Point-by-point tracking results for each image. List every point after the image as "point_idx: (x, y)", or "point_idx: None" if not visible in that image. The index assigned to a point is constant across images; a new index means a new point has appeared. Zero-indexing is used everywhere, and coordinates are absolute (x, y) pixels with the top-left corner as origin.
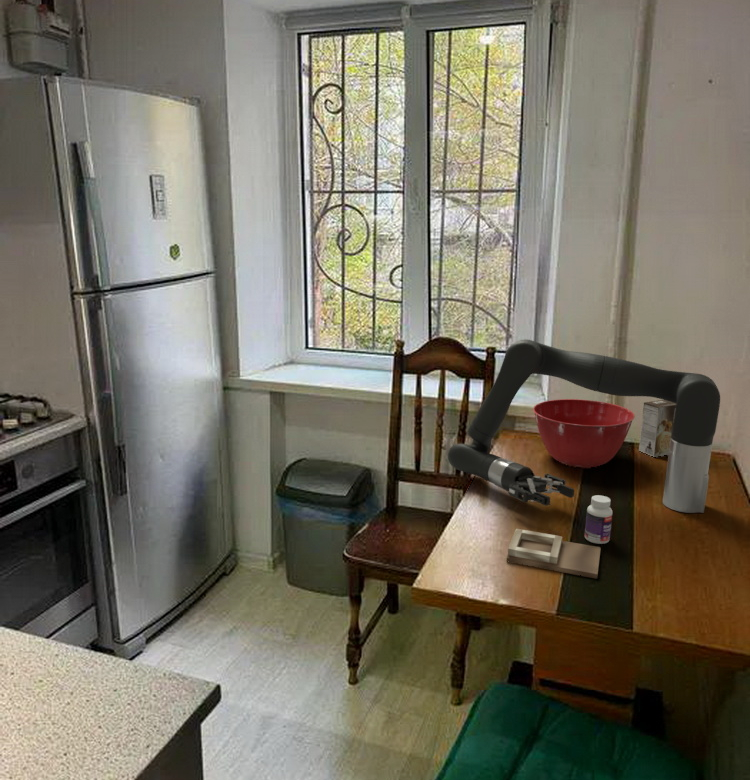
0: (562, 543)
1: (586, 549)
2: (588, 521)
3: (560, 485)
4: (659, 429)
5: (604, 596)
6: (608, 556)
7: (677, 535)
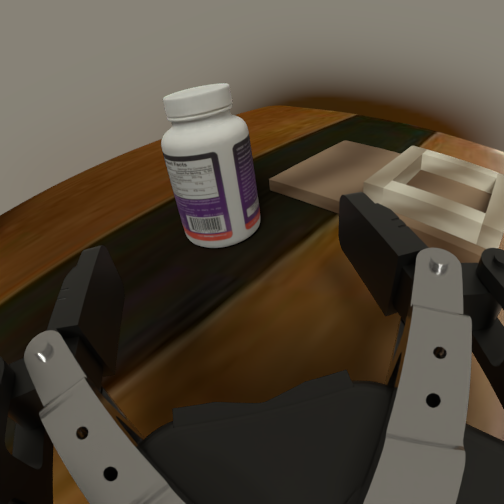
0: None
1: (312, 178)
2: (252, 163)
3: (82, 325)
4: None
5: (358, 133)
6: (266, 179)
7: (57, 218)
